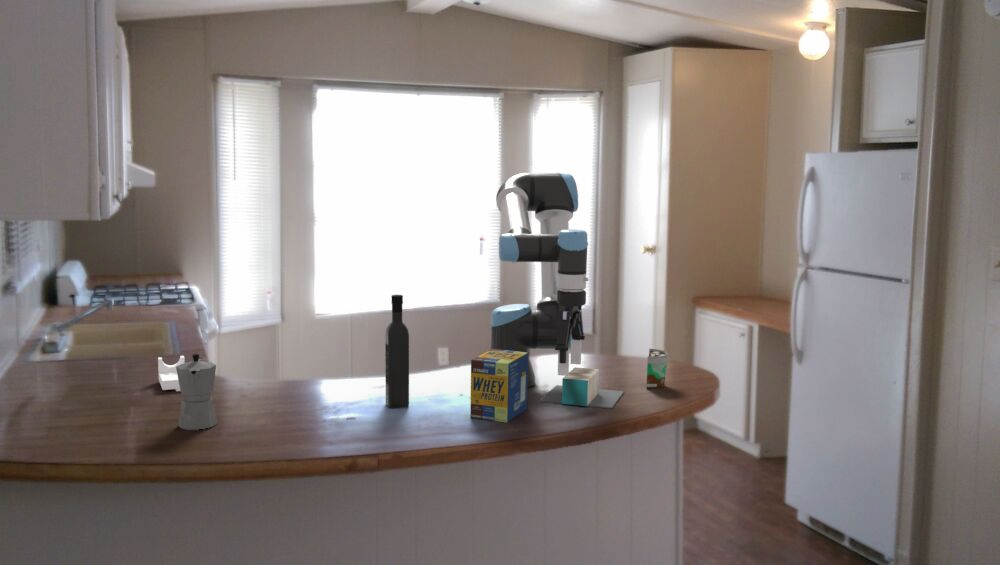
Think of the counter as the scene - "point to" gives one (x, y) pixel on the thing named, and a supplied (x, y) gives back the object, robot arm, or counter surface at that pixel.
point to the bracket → (169, 374)
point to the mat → (601, 401)
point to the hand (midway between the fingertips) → (569, 369)
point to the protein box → (499, 385)
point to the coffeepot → (196, 394)
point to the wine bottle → (397, 358)
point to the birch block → (580, 386)
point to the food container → (656, 368)
